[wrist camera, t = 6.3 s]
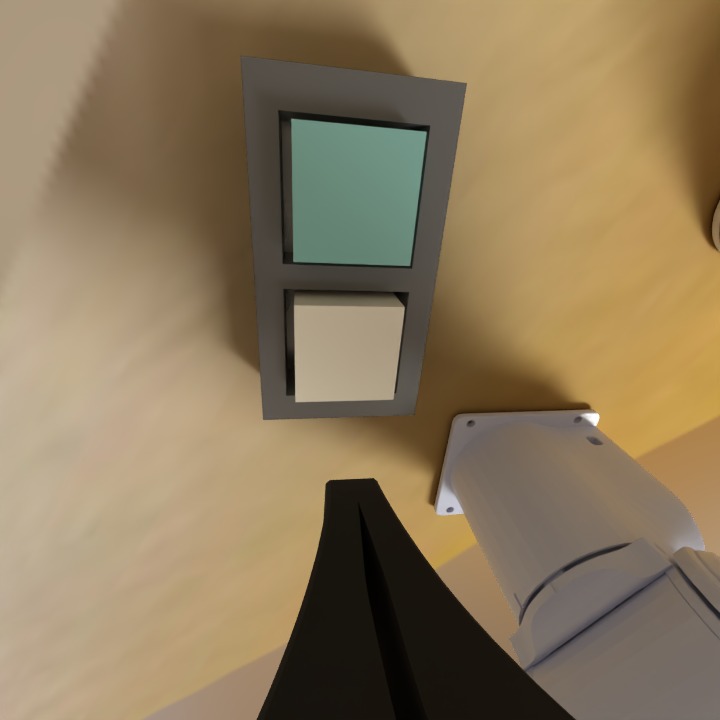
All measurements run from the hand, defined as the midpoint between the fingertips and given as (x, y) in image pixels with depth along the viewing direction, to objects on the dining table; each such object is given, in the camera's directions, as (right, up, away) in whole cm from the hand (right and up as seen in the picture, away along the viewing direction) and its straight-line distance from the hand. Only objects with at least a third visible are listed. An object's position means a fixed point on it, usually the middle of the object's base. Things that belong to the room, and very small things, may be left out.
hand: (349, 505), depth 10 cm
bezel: (-1, +9, +6) cm, 11 cm away
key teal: (0, +10, +3) cm, 10 cm away
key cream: (0, +5, +5) cm, 8 cm away
